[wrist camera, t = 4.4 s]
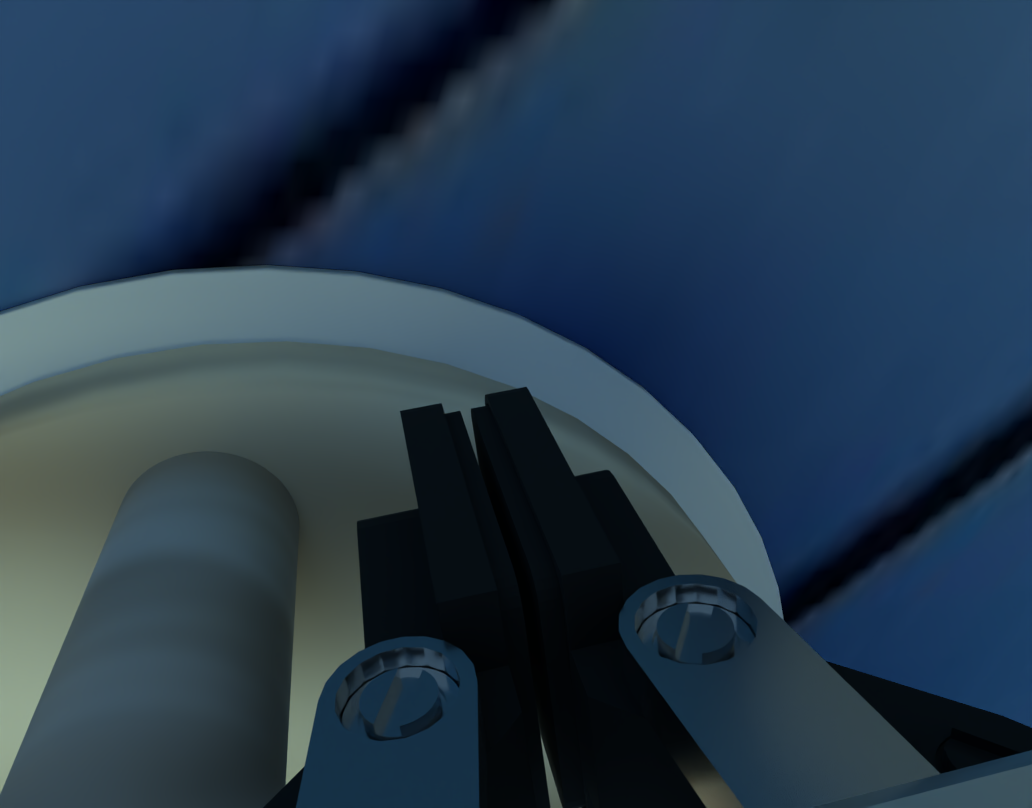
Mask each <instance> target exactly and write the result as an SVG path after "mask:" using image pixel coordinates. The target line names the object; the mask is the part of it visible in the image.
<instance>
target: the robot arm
mask: <svg viewBox="0 0 1032 808" xmlns="http://www.w3.org/2000/svg"><path fill="white" fill-rule="evenodd" d="M400 415H401V420H402V425H403V430H404V436H405V441H406V446H407V451H408V457H409V462H410V467H411V473H412V478H413V483H414V488H415V494H416V499H417V504H418V508H417V509H413V510H408V511H403V512H398V513H393V514H388V515H383V516H379V517H374V518H369V519H364V520H359V521H357V538H358V553H359V568H360V584H361V599H362V614H363V629H364V644H365V649H363V650H361V651H359V652H357V653H356V654H355V655H353V656H352V657H350V658H349V659H348V660H346V661H345V662H344V663H342V664H341V665H340V666H339V667H338V668H337V669H336V670H335V672H334V673H333V674H332V675H331V676H330V678H329V679H328V680H327V681H326V683H325V685H324V687H323V690H322V692H321V695H320V697H319V700H318V704H317V708H316V713H315V718H314V723H313V728H312V732H311V737H310V742H309V747H308V752H307V756H306V761H305V766H304V767H303V768H302V769H301V770H300V771H299V772H298V773H297V774H296V775H295V776H294V777H293V778H292V779H291V780H290V781H289V782H288V783H287V784H286V785H285V786H284V787H283V788H282V789H281V790H280V791H279V792H278V793H277V794H276V795H275V796H274V797H273V798H272V799H271V800H270V801H269V802H268V803H267V804H266V805H265V806H264V807H263V808H551V807H550V800H549V793H548V785H547V778H546V771H545V764H544V757H543V750H542V742H541V738H542V741H543V745H544V748H545V751H546V755H547V758H548V761H549V765H550V768H551V772H552V775H553V778H554V782H555V785H556V788H557V792H558V795H559V798H560V802H561V805H562V807H563V808H580V807H581V808H1032V728H1030V727H1028V726H1026V725H1023V724H1021V723H1018V722H1016V721H1014V720H1011V719H1009V718H1006V717H1004V716H1001V715H998V714H995V713H991V712H988V711H985V710H982V709H978V708H975V707H972V706H969V705H966V704H962V703H959V702H956V701H953V700H949V699H946V698H943V697H940V696H937V695H933V694H930V693H927V692H924V691H920V690H917V689H914V688H911V687H908V686H904V685H901V684H898V683H895V682H891V681H888V680H885V679H882V678H879V677H875V676H872V675H869V674H866V673H862V672H859V671H856V670H853V669H850V668H846V667H843V666H840V665H837V664H833V663H830V662H827V661H825V660H824V659H823V658H822V657H821V656H820V655H819V654H817V653H816V652H815V651H814V650H813V649H812V648H811V647H810V646H809V645H808V644H807V643H806V642H805V641H804V640H803V639H802V638H801V637H800V636H799V635H798V634H797V633H796V632H795V631H794V630H793V629H792V628H791V627H790V626H789V625H788V624H787V623H786V622H785V621H784V620H783V619H782V618H781V617H780V616H779V615H778V614H777V613H775V612H774V611H773V610H772V609H771V608H770V607H769V606H768V605H767V604H766V603H765V602H764V601H763V600H762V599H761V598H760V597H758V596H757V595H756V594H754V593H753V592H752V591H750V590H749V589H747V588H746V587H745V586H742V585H740V584H737V583H735V582H732V581H730V580H727V579H725V578H720V577H714V576H709V575H703V574H692V575H676V576H675V574H674V572H673V571H672V569H671V567H670V566H669V564H668V563H667V561H666V559H665V558H664V556H663V554H662V553H661V551H660V550H659V548H658V546H657V545H656V543H655V541H654V540H653V538H652V537H651V535H650V533H649V532H648V530H647V528H646V527H645V525H644V524H643V522H642V520H641V519H640V517H639V515H638V514H637V512H636V511H635V509H634V507H633V506H632V504H631V502H630V501H629V499H628V498H627V496H626V494H625V493H624V491H623V489H622V488H621V486H620V485H619V483H618V481H617V480H616V478H615V476H614V475H613V474H612V473H611V471H610V470H602V471H597V472H592V473H587V474H582V475H577V476H574V474H573V472H572V470H571V468H570V467H569V465H568V463H567V461H566V459H565V457H564V455H563V453H562V452H561V450H560V448H559V446H558V444H557V442H556V440H555V438H554V436H553V435H552V433H551V431H550V429H549V427H548V425H547V423H546V421H545V420H544V418H543V416H542V414H541V412H540V410H539V408H538V406H537V405H536V403H535V401H534V399H533V397H532V395H531V393H530V391H529V390H528V388H527V387H522V388H517V389H512V390H506V391H501V392H496V393H491V394H486V395H485V406H482V407H476V408H471V418H472V425H473V431H474V438H475V444H476V451H477V457H478V462H477V459H476V456H475V453H474V450H473V447H472V444H471V441H470V438H469V435H468V432H467V429H466V426H465V423H464V420H463V417H462V414H461V412H460V411H456V412H451V413H446V414H445V413H444V409H443V406H442V403H439V404H433V405H428V406H423V407H418V408H412V409H407V410H402V411H400ZM478 464H479V465H478Z"/></svg>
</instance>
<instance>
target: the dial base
mask: <svg viewBox="0 0 1032 808" xmlns="http://www.w3.org/2000/svg"><path fill="white" fill-rule="evenodd" d="M283 341H290V342H302V343H314V344H327V345H339V346H351V347H364V348H372V349H377V350H382V351H387V352H391V353H396V354H401V355H406V356H411V357H416V358H421V359H425V360H430V361H435V362H440V363H445V364H448V365H451V366H454V367H457V368H460V369H463V370H466V371H469V372H472V373H475V374H478V375H480V376H483V377H486V378H489V379H492V380H495V381H498V382H501V383H504V384H507V385H510V386H513V387H515V388H522V387H527V388H528V390H529V391H530V393H531V395H532V396H534V397H536V398H537V399H539V400H541V401H544V402H545V403H547V404H549V405H551V406H553V407H555V408H557V409H559V410H561V411H563V412H565V413H567V414H569V415H571V416H573V417H575V418H577V419H579V420H580V421H582V422H583V423H584V424H586V425H587V426H589V427H590V428H592V429H593V430H595V431H596V432H597V433H599V434H600V435H602V436H603V437H605V438H606V439H608V440H609V441H610V442H612V443H613V444H615V445H616V446H618V447H619V448H621V449H622V450H623V451H625V452H626V453H628V454H629V455H630V456H631V457H632V458H633V459H634V460H635V461H636V462H638V463H639V464H640V465H641V466H642V467H643V468H644V469H645V470H646V471H647V472H648V473H649V474H650V475H651V476H652V477H653V478H654V479H656V480H657V481H658V482H659V483H660V484H661V485H662V486H663V487H664V488H665V489H666V490H667V491H668V492H669V493H670V494H671V495H672V496H673V497H674V499H675V500H676V501H677V503H678V504H679V505H680V507H681V508H682V509H683V510H684V512H685V513H686V514H687V516H688V517H689V518H690V520H691V521H692V522H693V523H694V525H695V526H696V527H697V529H698V530H699V531H700V533H701V534H702V535H703V537H704V538H705V539H706V541H707V542H708V544H709V545H710V546H711V548H712V549H713V550H714V552H715V553H716V555H717V556H718V557H719V559H720V560H721V562H722V563H723V564H724V566H725V567H726V569H727V570H728V571H729V573H730V574H731V576H732V577H733V578H734V580H735V581H736V583H737V584H740V585H742V586H745V587H746V588H747V589H749V590H750V591H752V592H753V593H754V594H756V595H757V596H758V597H760V598H761V599H762V600H763V601H764V602H765V603H766V604H767V605H768V606H769V607H770V608H771V609H772V610H773V611H774V612H775V613H777V614H778V615H779V616H780V617H781V618H782V619H783V613H782V606H781V600H780V594H779V588H778V585H777V582H776V579H775V576H774V573H773V570H772V567H771V564H770V561H769V558H768V555H767V552H766V549H765V547H764V544H763V541H762V538H761V536H760V534H759V532H758V530H757V528H756V527H755V525H754V523H753V521H752V519H751V517H750V515H749V514H748V512H747V510H746V508H745V506H744V504H743V502H742V501H741V499H740V497H739V495H738V493H737V491H736V490H735V488H734V486H733V485H732V484H731V483H730V481H729V480H728V479H727V477H726V476H725V475H724V474H723V472H722V471H721V470H720V468H719V467H718V466H717V465H716V463H715V462H714V461H713V459H712V458H711V457H710V456H709V454H708V453H707V452H706V450H705V449H704V448H703V447H702V445H701V444H700V443H699V441H698V440H697V439H696V438H695V437H694V435H693V434H692V433H691V432H690V431H689V430H688V429H687V428H686V427H685V426H684V425H683V424H682V423H681V422H680V421H678V420H677V419H676V418H675V417H674V416H673V415H672V414H671V413H670V412H669V411H668V410H667V409H666V408H665V407H664V406H662V405H661V404H660V403H659V402H658V401H657V400H656V399H655V398H654V397H653V396H652V395H651V394H650V393H649V392H647V391H646V390H645V389H644V388H643V387H642V386H641V385H639V384H638V383H636V382H635V381H633V380H632V379H630V378H629V377H627V376H626V375H625V374H623V373H622V372H620V371H619V370H617V369H616V368H614V367H613V366H611V365H610V364H609V363H607V362H606V361H604V360H603V359H601V358H600V357H598V356H597V355H596V354H594V353H593V352H591V351H590V350H588V349H587V348H585V347H583V346H581V345H579V344H577V343H575V342H573V341H571V340H569V339H567V338H565V337H563V336H561V335H559V334H557V333H555V332H553V331H551V330H549V329H547V328H545V327H543V326H541V325H539V324H537V323H535V322H533V321H531V320H529V319H527V318H525V317H523V316H521V315H519V314H516V313H513V312H511V311H508V310H505V309H502V308H499V307H496V306H493V305H490V304H487V303H484V302H481V301H478V300H475V299H472V298H469V297H466V296H463V295H460V294H457V293H454V292H451V291H448V290H445V289H442V288H438V287H433V286H428V285H423V284H418V283H413V282H408V281H403V280H398V279H393V278H388V277H383V276H378V275H373V274H368V273H363V272H358V271H346V270H332V269H318V268H304V267H290V266H276V265H254V266H235V267H215V268H196V269H177V270H169V271H163V272H158V273H152V274H146V275H141V276H135V277H130V278H124V279H118V280H113V281H107V282H102V283H96V284H90V285H85V286H80V287H76V288H73V289H70V290H67V291H64V292H60V293H57V294H54V295H51V296H48V297H44V298H41V299H38V300H35V301H32V302H28V303H25V304H22V305H19V306H16V307H12V308H9V309H6V310H3V311H0V396H2V395H4V394H7V393H9V392H11V391H14V390H16V389H18V388H20V387H23V386H25V385H27V384H30V383H32V382H35V381H39V380H42V379H46V378H49V377H53V376H56V375H60V374H63V373H67V372H70V371H74V370H77V369H81V368H84V367H88V366H91V365H95V364H98V363H102V362H105V361H109V360H112V359H116V358H121V357H127V356H134V355H140V354H146V353H153V352H159V351H165V350H171V349H178V348H184V347H190V346H197V345H205V344H231V343H257V342H283ZM783 620H784V619H783Z"/></svg>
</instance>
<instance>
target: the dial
mask: <svg viewBox="0 0 1032 808" xmlns="http://www.w3.org/2000/svg"><path fill="white" fill-rule="evenodd" d="M512 389H517V388H515V387H513V386H510V385H507V384H504V383H501V382H498V381H495V380H492V379H489V378H486V377H483V376H480V375H478V374H475V373H472V372H469V371H466V370H463V369H460V368H457V367H454V366H451V365H448V364H445V363H440V362H435V361H430V360H425V359H421V358H416V357H411V356H406V355H401V354H396V353H391V352H387V351H382V350H377V349H372V348H364V347H351V346H339V345H327V344H314V343H302V342H290V341H283V342H257V343H231V344H205V345H197V346H190V347H184V348H178V349H171V350H165V351H159V352H153V353H146V354H140V355H134V356H127V357H121V358H116V359H112V360H109V361H105V362H102V363H98V364H95V365H91V366H88V367H84V368H81V369H77V370H74V371H70V372H67V373H63V374H60V375H56V376H53V377H49V378H46V379H42V380H39V381H35V382H32V383H30V384H27V385H25V386H23V387H20V388H18V389H16V390H14V391H11V392H9V393H7V394H4V395H2V396H0V808H263V807H264V806H265V805H266V804H267V803H268V802H269V801H270V800H271V799H272V798H273V797H274V796H275V795H276V794H277V793H278V792H279V791H280V790H281V789H282V788H283V787H284V786H285V785H286V784H287V783H288V782H289V781H290V780H291V779H292V778H293V777H294V776H295V775H296V774H297V773H298V772H299V771H300V770H301V769H302V768H303V767H304V766H305V761H306V756H307V752H308V747H309V742H310V737H311V732H312V728H313V723H314V718H315V713H316V708H317V704H318V700H319V697H320V695H321V692H322V690H323V687H324V685H325V683H326V681H327V680H328V679H329V678H330V676H331V675H332V674H333V673H334V672H335V670H336V669H337V668H338V667H339V666H340V665H341V664H342V663H344V662H345V661H346V660H348V659H349V658H350V657H352V656H353V655H355V654H356V653H357V652H359V651H361V650H363V649H365V644H364V629H363V614H362V599H361V584H360V568H359V553H358V538H357V521H359V520H364V519H369V518H374V517H379V516H383V515H388V514H393V513H398V512H403V511H408V510H413V509H417V508H418V504H417V499H416V494H415V488H414V483H413V478H412V473H411V467H410V462H409V457H408V451H407V446H406V441H405V436H404V430H403V425H402V420H401V415H400V411H402V410H407V409H412V408H418V407H423V406H428V405H433V404H439V403H442V406H443V409H444V413H445V414H446V413H451V412H456V411H460V412H461V414H462V417H463V420H464V423H465V426H466V429H467V432H468V435H469V438H470V441H471V444H472V447H473V450H474V453H475V456H476V459H477V462H478V457H477V451H476V444H475V438H474V431H473V425H472V418H471V408H476V407H482V406H485V395H486V394H491V393H496V392H501V391H506V390H512ZM532 397H533V399H534V401H535V403H536V405H537V406H538V408H539V410H540V412H541V414H542V416H543V418H544V420H545V421H546V423H547V425H548V427H549V429H550V431H551V433H552V435H553V436H554V438H555V440H556V442H557V444H558V446H559V448H560V450H561V452H562V453H563V455H564V457H565V459H566V461H567V463H568V465H569V467H570V468H571V470H572V472H573V474H574V476H577V475H582V474H587V473H592V472H597V471H602V470H610V471H611V473H612V474H613V475H614V476H615V478H616V480H617V481H618V483H619V485H620V486H621V488H622V489H623V491H624V493H625V494H626V496H627V498H628V499H629V501H630V502H631V504H632V506H633V507H634V509H635V511H636V512H637V514H638V515H639V517H640V519H641V520H642V522H643V524H644V525H645V527H646V528H647V530H648V532H649V533H650V535H651V537H652V538H653V540H654V541H655V543H656V545H657V546H658V548H659V550H660V551H661V553H662V554H663V556H664V558H665V559H666V561H667V563H668V564H669V566H670V567H671V569H672V571H673V572H674V574H675V576H676V575H692V574H703V575H709V576H714V577H720V578H725V579H727V580H730V581H732V582H735V583H736V581H735V580H734V578H733V577H732V576H731V574H730V573H729V571H728V570H727V569H726V567H725V566H724V564H723V563H722V562H721V560H720V559H719V557H718V556H717V555H716V553H715V552H714V550H713V549H712V548H711V546H710V545H709V544H708V542H707V541H706V539H705V538H704V537H703V535H702V534H701V533H700V531H699V530H698V529H697V527H696V526H695V525H694V523H693V522H692V521H691V520H690V518H689V517H688V516H687V514H686V513H685V512H684V510H683V509H682V508H681V507H680V505H679V504H678V503H677V501H676V500H675V499H674V497H673V496H672V495H671V494H670V493H669V492H668V491H667V490H666V489H665V488H664V487H663V486H662V485H661V484H660V483H659V482H658V481H657V480H656V479H654V478H653V477H652V476H651V475H650V474H649V473H648V472H647V471H646V470H645V469H644V468H643V467H642V466H641V465H640V464H639V463H638V462H636V461H635V460H634V459H633V458H632V457H631V456H630V455H629V454H628V453H626V452H625V451H623V450H622V449H621V448H619V447H618V446H616V445H615V444H613V443H612V442H610V441H609V440H608V439H606V438H605V437H603V436H602V435H600V434H599V433H597V432H596V431H595V430H593V429H592V428H590V427H589V426H587V425H586V424H584V423H583V422H582V421H580V420H579V419H577V418H575V417H573V416H571V415H569V414H567V413H565V412H563V411H561V410H559V409H557V408H555V407H553V406H551V405H549V404H547V403H545V402H544V401H541V400H539V399H537V398H536V397H534V396H532ZM478 465H479V464H478ZM541 742H542V750H543V757H544V764H545V771H546V778H547V785H548V793H549V800H550V807H551V808H563V807H562V805H561V802H560V798H559V795H558V792H557V788H556V785H555V782H554V778H553V775H552V772H551V768H550V765H549V761H548V758H547V755H546V751H545V748H544V745H543V741H542V738H541ZM580 808H581V807H580Z"/></svg>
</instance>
